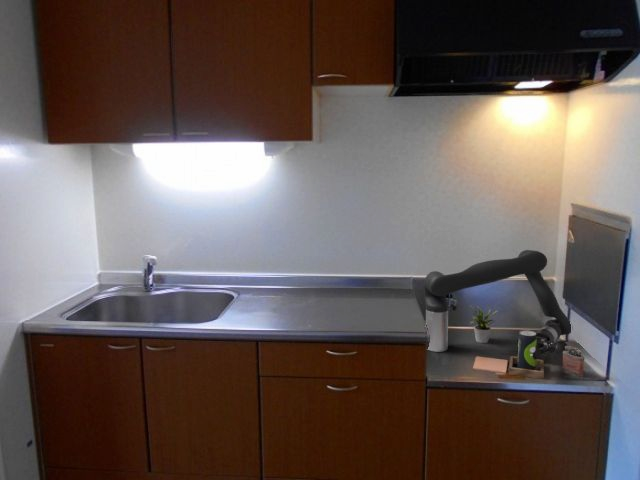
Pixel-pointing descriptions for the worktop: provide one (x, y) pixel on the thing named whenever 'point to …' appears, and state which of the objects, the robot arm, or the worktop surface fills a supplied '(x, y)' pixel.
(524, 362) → the beverage can
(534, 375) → the wooden tray
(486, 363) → the trivet
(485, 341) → the house plant
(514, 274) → the robot arm
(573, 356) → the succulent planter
